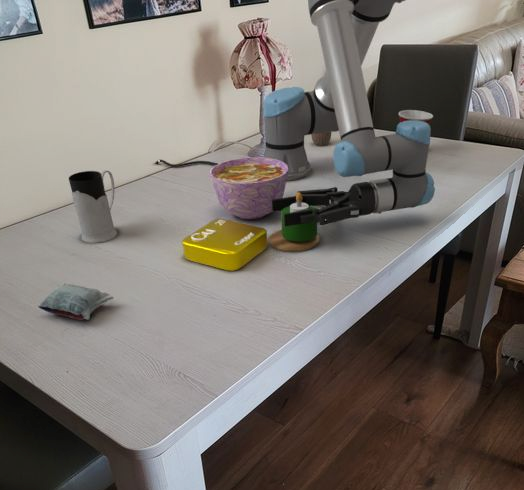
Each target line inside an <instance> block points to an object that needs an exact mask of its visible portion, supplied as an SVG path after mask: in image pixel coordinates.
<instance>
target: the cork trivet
mask: <svg viewBox="0 0 524 490" xmlns="http://www.w3.org/2000/svg"><path fill="white" fill-rule="evenodd" d="M319 243H320V236H319V234H318V233H317V235H316V237H314V238H313V239H310V240H307V241H291V240H287V239H285V238H284V237H283V236H282V229H280V230H277V231H274V232H273V233H272V234H270V236H269V237H268V244H269V245H270V246H271V247H272V248H273V249H274V250H278V251H282V252H287V253H288V252H289V253H296V252H305V251H308V250H311V249H313V248H315V247H316V246H317V245H319Z"/></svg>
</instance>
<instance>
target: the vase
mask: <svg viewBox="0 0 524 490" xmlns="http://www.w3.org/2000/svg"><path fill="white" fill-rule="evenodd" d="M310 136H311V140H312V142H313V144H314V145H315V146H319V147H323V146H324V147H325V146H327V145H328V144H329V143H330V141H331V139H332V132H326V133H318V134H311V135H310Z"/></svg>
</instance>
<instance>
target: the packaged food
mask: <svg viewBox="0 0 524 490" xmlns="http://www.w3.org/2000/svg"><path fill="white" fill-rule="evenodd" d="M113 299H114V296H113V295H112V294H110V293H107V292H101V290H99V289H97V288H90V287H86V286H81V285H75V284H70V283H68V284H67V283H64V284H63V285H57V286H56V287H55V288H54V289H53V290H52V291H51V292H50V293H49V294H48V295H47V296H46V298H45V299H43V301H42V302H40V303H39V304H38V306H37V307H38V308H39V309H40V310H43V311H45V312H46V313H49V314H53V315H60V316H65V317H68V318H71V319H75V320H80V321H83V320H87V321H88V320H90V318H91V317H90V316H91V314H92V313H93V312H94V311H95V310H97V309H98V308H99V307H100V306H102V305H104V304H105V303H107V302H108V301H111V300H113Z"/></svg>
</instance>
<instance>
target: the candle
mask: <svg viewBox="0 0 524 490" xmlns="http://www.w3.org/2000/svg"><path fill="white" fill-rule="evenodd" d="M295 196H296V200H297V203H293V204H291V205H290V206H288V207H285V208H284V209H283V210H282V211H280V215H281V216H280V217H281V219H280V220H281V230H282V236H283V237H284V238H285V239H287V240H291V241H307V240H310V239H313V238H314V237H316V235H317V234H318V223H315V222H314V221H313V222H309V223H303V224H297V225H291V226H286V227H285V226H284V214H285V213H291V212H297V211H304V210H310V209H312V210H313V213H314V208H316V206H309V205H308V204H306V203H302V194H301V193H300V192H298V191H297V193H296V195H295Z"/></svg>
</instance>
